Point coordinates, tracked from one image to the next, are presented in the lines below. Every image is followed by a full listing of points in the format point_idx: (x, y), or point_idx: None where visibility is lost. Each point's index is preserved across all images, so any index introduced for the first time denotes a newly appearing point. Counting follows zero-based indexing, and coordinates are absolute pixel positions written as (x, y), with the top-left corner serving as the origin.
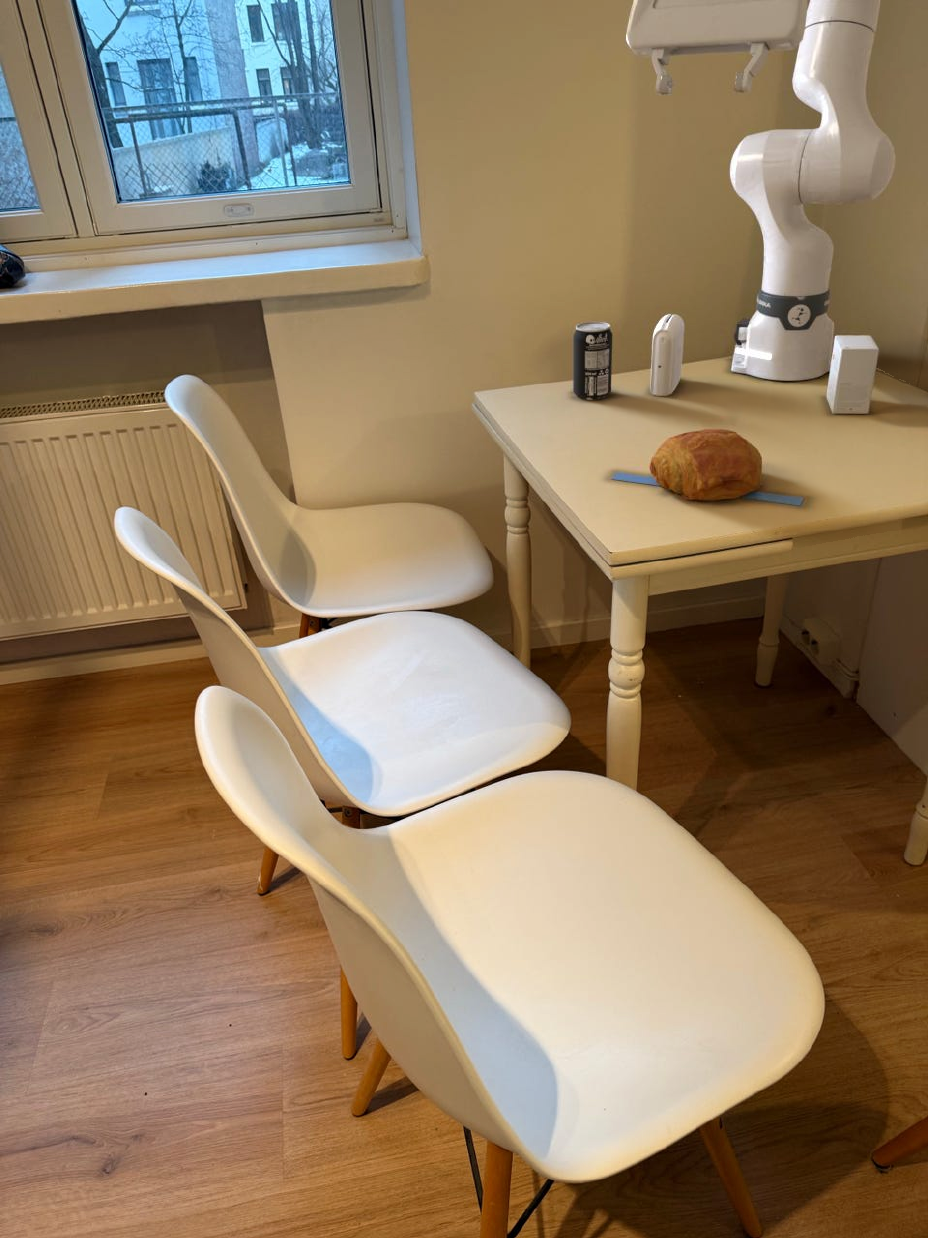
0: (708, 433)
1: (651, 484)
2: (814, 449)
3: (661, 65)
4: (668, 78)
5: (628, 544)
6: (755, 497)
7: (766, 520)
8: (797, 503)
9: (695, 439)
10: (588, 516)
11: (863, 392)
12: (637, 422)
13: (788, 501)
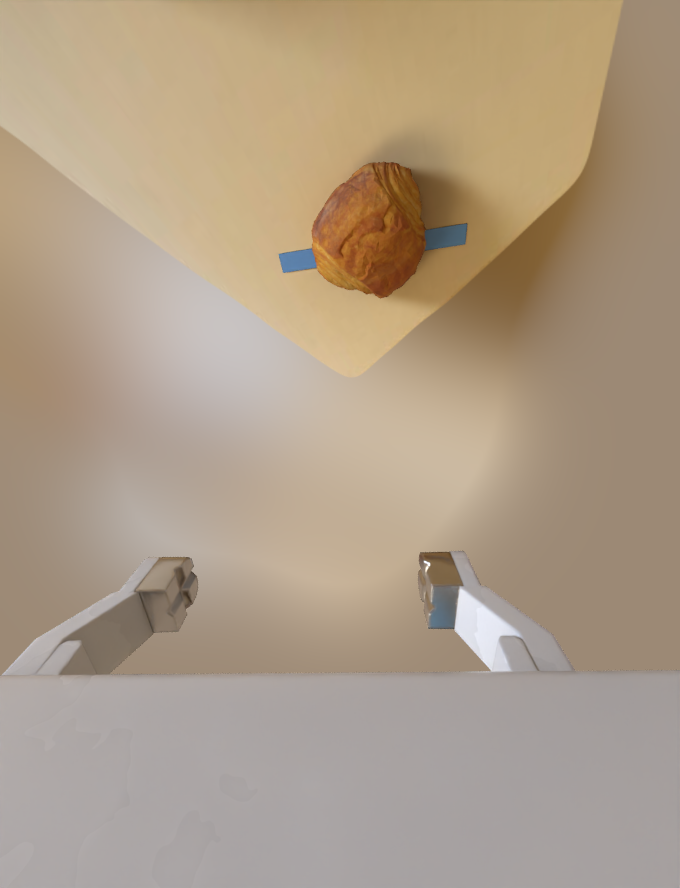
0: (365, 236)
1: None
2: (471, 17)
3: (97, 654)
4: (183, 620)
5: (355, 370)
6: None
7: (439, 289)
8: (462, 240)
9: (360, 266)
10: (308, 347)
11: None
12: (188, 38)
13: (453, 240)
